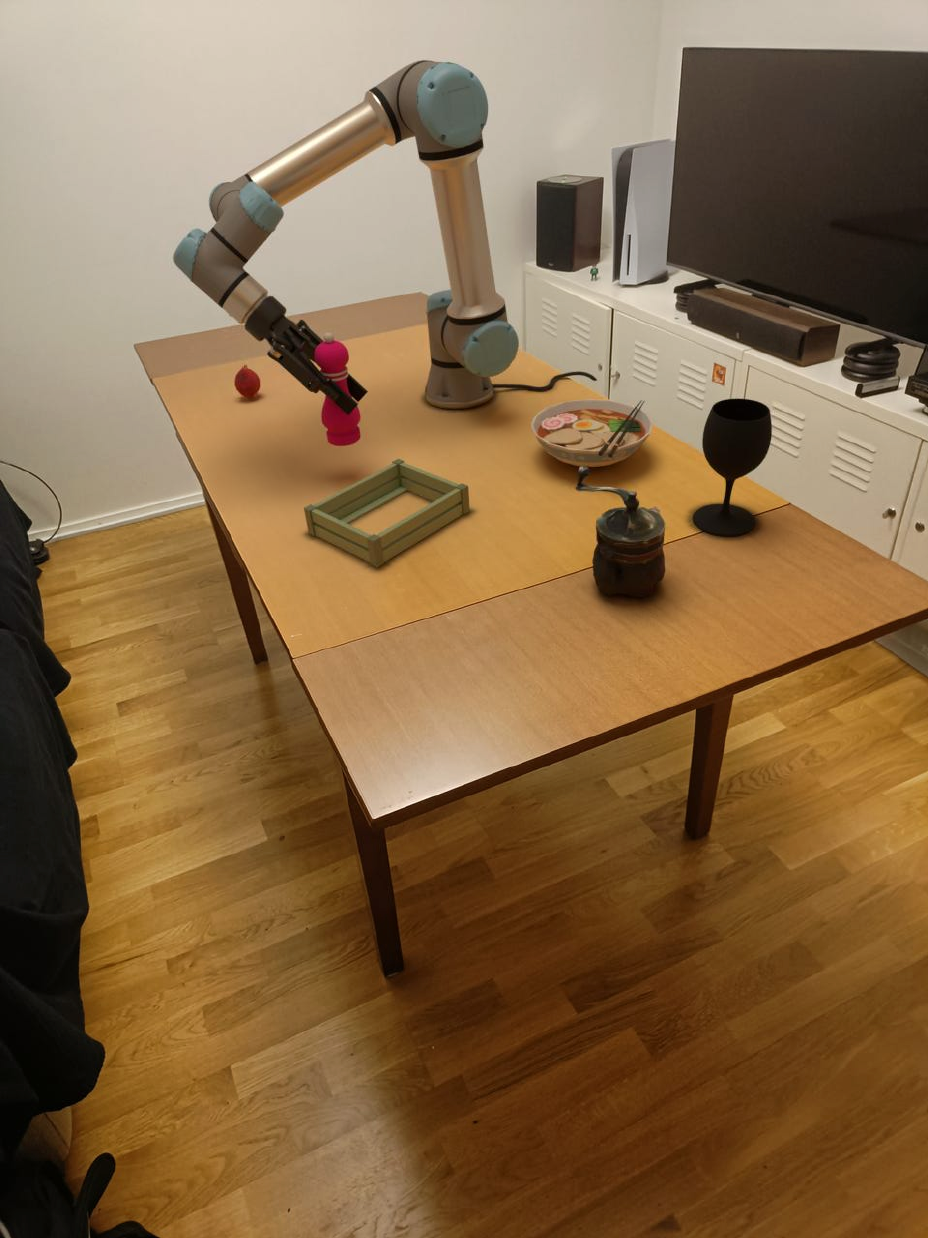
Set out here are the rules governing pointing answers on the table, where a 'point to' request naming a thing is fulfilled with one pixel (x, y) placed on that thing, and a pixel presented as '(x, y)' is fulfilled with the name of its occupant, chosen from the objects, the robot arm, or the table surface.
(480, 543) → the table surface
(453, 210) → the robot arm
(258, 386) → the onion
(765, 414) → the wine glass
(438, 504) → the crate
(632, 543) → the coffee grinder
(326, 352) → the pepper mill
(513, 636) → the table surface
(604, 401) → the ramen bowl
